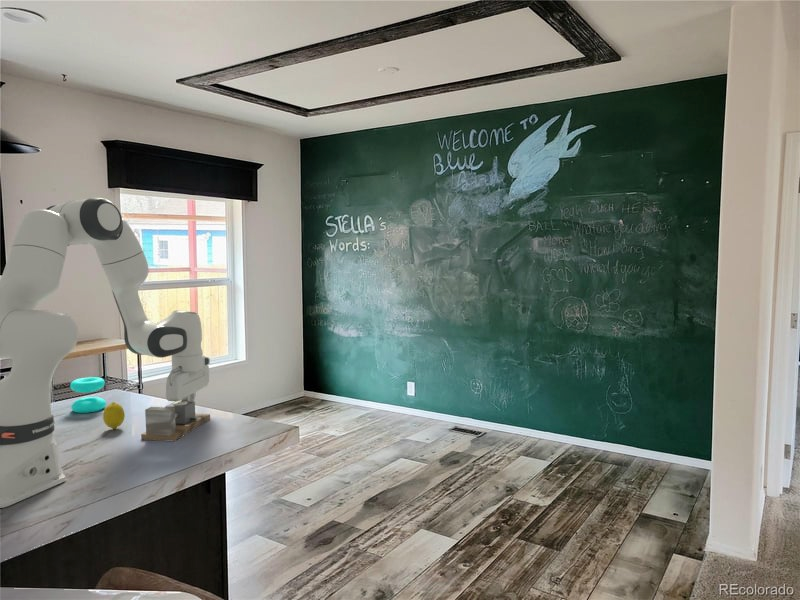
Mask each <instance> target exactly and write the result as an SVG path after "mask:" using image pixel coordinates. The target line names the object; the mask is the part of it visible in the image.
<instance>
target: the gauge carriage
mask: <svg viewBox="0 0 800 600" xmlns="http://www.w3.org/2000/svg"><path fill="white" fill-rule="evenodd" d="M164 407H172V408H175V424H186V423H188V422H190V421H191V420H195V421H196V420H197V418H195V413H196V402H195V401H194V402H189V401H182V400H179V401H172V403H170V404H168V405H166V406H164Z"/></svg>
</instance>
